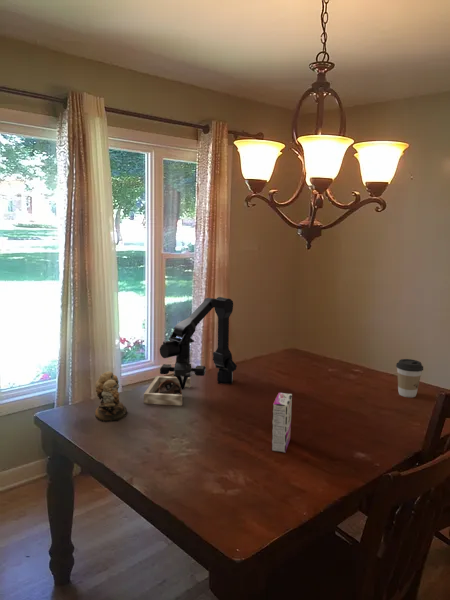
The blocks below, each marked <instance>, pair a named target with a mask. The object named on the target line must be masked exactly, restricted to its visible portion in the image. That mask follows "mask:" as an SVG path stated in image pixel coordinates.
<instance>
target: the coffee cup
mask: <svg viewBox="0 0 450 600" xmlns="http://www.w3.org/2000/svg"><path fill="white" fill-rule="evenodd" d="M395 367H396V370H397V390H398V395H399V396H401V397H404V398H415V397H416V396H417V393H418V389H419V386H420V381H421V376H422V373H423V371H424V366H423V364H422V362H421V361H419V360H416V359H413V358H411V359H410V358H401V359H399V360H398V361H397V363H396V365H395Z"/></svg>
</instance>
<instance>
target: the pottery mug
mask: <svg viewBox="0 0 450 600" xmlns="http://www.w3.org/2000/svg"><path fill="white" fill-rule="evenodd" d="M171 383H173V384H171ZM163 385H164V386H163ZM163 387H164V388H165V390H162V388H163ZM158 393H162V394H180V395H182V396H183V392H182V388H181V387H180V386H179V385H178V384H177V383H176V382H174V381H173V380H169V379H166V380H165V381H164V382H162V383H161V384H160V385H159V387H158Z"/></svg>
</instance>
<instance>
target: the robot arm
mask: <svg viewBox="0 0 450 600" xmlns="http://www.w3.org/2000/svg"><path fill="white" fill-rule="evenodd" d="M213 309H214V311H215V312H214V313H215V314H216V316H217V348H216V350H215V351H213V352H212V356H213V357H212V361H213V364H214V366H215V368H216V369H218V370H217V373H216V375H217V376H216V377H217V378H216V380H217V384H221V385H224V384H225V385H232V384H233V383H234V382H233V381H234V379H233V377H234V376H233V375H234V373H233V372H235V371H236V370H237V367H238V366H237V364H236V363H235V362H234V361H233V354H232V352H231V350H230V348H229V346H230V345H229V342H230V341H229V339H230V338H229V337H230V334H229V333H230V316H231V315H232V313H233V310H234V301H233V300H232V299H231V298H228V297H223V296H218V297H216V298H212V297H205V298H204V299H203V302H202V303H200V305H199V306H198V307H197V308H196V309H195V310H194V311H193V312H192V313H191V314H190V315H189V316H188V317H187V318H186V319H183V320H181V321H179V322H178V323H177V324H175V326H174V328H173V330H172V332H171V334H170V336H169V338H168V340H165V341H163V342H162V344H161V346H159V347H160V348H159V355H160V356H161V357H162V358H163V359H168V358H173V357H175V364H174V366H172V364H171V363H170V364H169V363H168V364H167V363H163V364H162V365H161V367H160V368H159V374H160V375H168V374H169V373H170V372H173V377H177V378H178V380H179V383H180V386H181V387H180V389H181V391H183V390H185V388H186V387H185V384H186V381H187V378H192V377H191V376H192V375H193V373H194V375H195V376H197V377H204V376H205V375H206V366H205V365H196V366H195V367H192V363H191V357H190V356H191V343H195V340H194V339H192V336H193V335H194V334H195V332H196V330H197V329H196V328H197V326H198V325H199V324H200V322H201V321H202V320H203V319H205V317H206V316H207V315H208V314H209V313H210V312H211V311H212V310H213Z"/></svg>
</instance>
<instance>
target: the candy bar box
mask: <svg viewBox="0 0 450 600" xmlns="http://www.w3.org/2000/svg"><path fill="white" fill-rule="evenodd" d="M277 393H278V394H277V395H276V397H275V398H274V399H275V400H274V401H273V404H272V426H271V427H272V431H271V434H272V435H271V451H273V452H278V453H286V452H287V450H288V446H289V443H290V440H291V435H292V434H291V433H292V432H291V431H292V430H291V429H292V408H293V407H292V403H293V401H292V400H293V393H287V392H277Z"/></svg>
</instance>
